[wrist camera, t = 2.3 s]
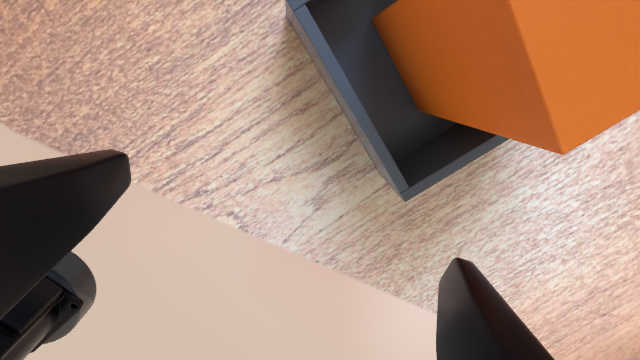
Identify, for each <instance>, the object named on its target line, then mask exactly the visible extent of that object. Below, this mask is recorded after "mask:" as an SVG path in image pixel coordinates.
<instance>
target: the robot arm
mask: <svg viewBox="0 0 640 360" xmlns="http://www.w3.org/2000/svg"><path fill="white" fill-rule="evenodd" d="M130 183H131V172H130V163H129V157H128V156H127V154H125V153H123V152H120V151H116V150H113V149H109V150H102V151H96V152H89V153H83V154H76V155H70V156H64V157H58V158H51V159H44V160H38V161H32V162H26V163H18V164H12V165H6V166H0V360H23V359H24V358H25V357H26V356H27V355H28V354H29V353H31V352H34V351H35V350H36V349H37V348H38V347H40V346H41V345H42V344H43V343H44V342H45V341H46V340H47V339H49V338H50V337H51V336H52V335H53V334H54V333H55V332H56V331H57V330H58V329H60V328H61V327H62V326H63V325H64V324H65V323H66V322H67V321H68V320H70V319H71V318H72V317H73V316H74V315H75V314H76V313H77V312H78V311H80V309H81V308H82V307H83V306H84V301H83V300H82V299H81V298H79V297H78V296H76V295H75V294H73V293H72V292H70V291H69V290H67V289H66V288H64V287H63V286H61V285H60V284H58V283H57V282H55V281H54V280H53V279H51V278H50V277H48V276H47V274H48V273H49V272H50V271H51V270H52V269H53V268H54V267H55V266H56V265H57V264H58V263H59V262H60V261H61V260H62V259H63V258H64V257H65V256H66V255H67V254H68V253H69V252H70V251H71V250H72V249H73V248H74V247H75V246H76V245H77V244H78V243H79V242H81V241H82V240H83V239H84V238H85V236H87V235H88V234H89V233H90V232H91V231H92V230H93V229H94V227H95V226H96V225H97V224H98V223H99V222H100V221H101V219H102V218H103V217H104V216H105V215H106V213H107V212H108V211H109V210H110V209H111V208H112V206H113V205H114V204H115V203H116V201H117V200H118V199H119V198H120V197H121V195H122V194H123V193H124V192H125V191H126V189H127V188H128V187H129V185H130ZM75 304H76V305H75ZM436 352H437V360H554V358H553V357H552V356H551V355H550V354H549V353H548V351H547V350H546V349H545V348H544V347H543V345H542V344H541V343H540V342H539V341H538V339H537V338H536V337H535V336H534V335H533V334H532V332H531V331H530V330H529V329H528V328H527V326H526V325H525V324H524V323H523V322H522V320H521V319H520V318H519V317H518V316H517V315H516V313H515V312H514V311H513V310H512V309H511V307H510V306H509V305H508V304H507V303H506V301H505V300H504V299H503V298H502V297H501V296H500V294H499V293H498V292H497V291H496V290H495V288H494V287H493V286H492V285H491V284H490V282H489V281H488V280H487V279H486V278H485V277H484V275H483V274H482V273H481V272H480V271H479V269H478V268H477V267H476V266H475V265H474V264H473V263H472V262H471V261H468V260H464V259H461V258H458V257H457V258H454V259H453V260H452V261H451V263H450V265H449V266H448V268H447V269H446V271H445V273H444V274H443V276H442V278H441V280H440V283H439V291H438V311H437V331H436Z"/></svg>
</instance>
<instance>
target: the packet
mask: <svg viewBox="0 0 640 360" xmlns="http://www.w3.org/2000/svg"><path fill="white" fill-rule="evenodd" d="M372 21H373V23H374V25H375V27H376V29H377V31H378V33H379V34H380V36H381V38H382V40H383V42H384V44H385V46H386V48H387V50H388V52H389V54H390V56H391V58H392V60H393V62H394V64H395V66H396V68H397V70H398V72H399V74H400V76H401V78H402V80H403V82H404V84H405V86H406V88H407V89H408V91H409V93H410V95H411V97H412V99H413V101H414V103H415V105H416V107H417V109H418V111H420V112H424V113H427V114H430V115H434V116H437V117H440V118H443V119H447V120H450V121H453V122H457V123H460V124H463V125H466V126H470V127H473V128H476V129H480V130H483V131H486V132H489V133H493V134H496V135H499V136H503V137H506V138H509V139H512V140H516V141H519V142H522V143H526V144H529V145H532V146H535V147H539V148H542V149H545V150H549V151H552V152H555V153H558V154H566V153H567V152H569V151H571V150H572V149H574V148H576V147H578V146H579V145H581V144H583V143H584V142H586V141H588V140H589V139H591V138H593V137H594V136H596V135H598V134H600V133H601V132H603V131H605V130H606V129H608V128H610V127H611V126H613V125H615V124H616V123H618V122H620V121H622V120H623V119H625V118H627V117H628V116H630V115H632V114H633V113H635V112H637V111H639V110H640V0H397V1H396V2H394V3H393V4H391V5H390V6H388V7H387V8H385V9H384V10H382V11H381V12H379V13H378V14H376V15H375V16H373V17H372Z"/></svg>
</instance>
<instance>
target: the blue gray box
mask: <svg viewBox="0 0 640 360" xmlns="http://www.w3.org/2000/svg"><path fill="white" fill-rule="evenodd" d="M396 1H397V0H286V17H287V19H288V20H289V22H290V24H291V25H292V27H293V29H294V30H295V32H296V34H297V35H298V37H299V39H300V40H301V42H302V44H303V45H304V47H305V49H306V51H307V52H308V54H309V56H310V57H311V59H312V61H313V62H314V64H315V66H316V67H317V69H318V71H319V72H320V74H321V76H322V77H323V79H324V81H325V82H326V84H327V86H328V87H329V89H330V91H331V92H332V94H333V96H334V98H335V99H336V101H337V103H338V104H339V106H340V108H341V109H342V111H343V113H344V114H345V116H346V118H347V119H348V121H349V123H350V124H351V126H352V128H353V129H354V131H355V133H356V134H357V136H358V138H359V139H360V141H361V143H362V144H363V146H364V148H365V150H366V151H367V153H368V155H369V156H370V158H371V160H372V161H373V163H374V165H375V166H376V168H377V170H378V171H379V173H380V175H381V176H382V177H383V178H384V179H385V181H386V182H387V183H388V184H389V185H390V186H391V187H392V188H393V189H394V191H395V192H396V193H397V194H398V195H399V196H400V197H401V198H402V200H403V201H404V202H406V201H408V200H409V199H411V198H413V197H414V196H416V195H418V194H419V193H421V192H422V191H424V190H426V189H427V188H429V187H431V186H432V185H434V184H436V183H437V182H439V181H441V180H442V179H444V178H446V177H447V176H449V175H451V174H452V173H454V172H455V171H457V170H459V169H460V168H462V167H464V166H465V165H467V164H469V163H470V162H472V161H474V160H475V159H477V158H479V157H480V156H482V155H484V154H485V153H487V152H489V151H490V150H492V149H493V148H495V147H497V146H498V145H500V144H502V143H503V142H505V141H507V140H508V139H509V138H506V137H503V136H499V135H496V134H493V133H489V132H486V131H483V130H480V129H476V128H473V127H470V126H466V125H463V124H460V123H457V122H453V121H450V120H447V119H443V118H440V117H437V116H434V115H430V114H427V113H424V112H420V111H418V109H417V107H416V105H415V103H414V101H413V99H412V97H411V95H410V93H409V91H408V89H407V88H406V86H405V84H404V82H403V80H402V78H401V76H400V74H399V72H398V70H397V68H396V66H395V64H394V62H393V60H392V58H391V56H390V54H389V52H388V50H387V48H386V46H385V44H384V42H383V40H382V38H381V36H380V34H379V33H378V31H377V29H376V27H375V25H374V23H373V21H372V17H373V16H375V15H376V14H378V13H379V12H381V11H382V10H384V9H385V8H387V7H388V6H390V5H391V4H393V3H394V2H396Z"/></svg>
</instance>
